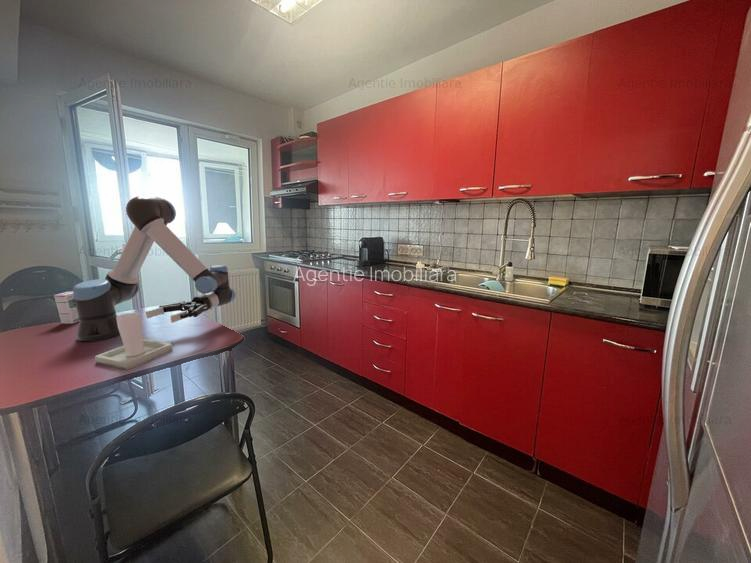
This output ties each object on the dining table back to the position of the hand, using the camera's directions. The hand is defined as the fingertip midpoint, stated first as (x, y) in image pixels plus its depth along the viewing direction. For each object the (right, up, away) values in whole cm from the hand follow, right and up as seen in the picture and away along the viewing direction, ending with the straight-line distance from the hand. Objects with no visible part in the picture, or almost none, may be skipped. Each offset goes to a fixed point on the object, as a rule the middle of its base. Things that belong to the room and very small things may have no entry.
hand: (158, 317), depth 116 cm
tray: (-3, -14, -7) cm, 16 cm away
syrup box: (-62, -6, +28) cm, 68 cm away
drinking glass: (-3, -13, -7) cm, 15 cm away
